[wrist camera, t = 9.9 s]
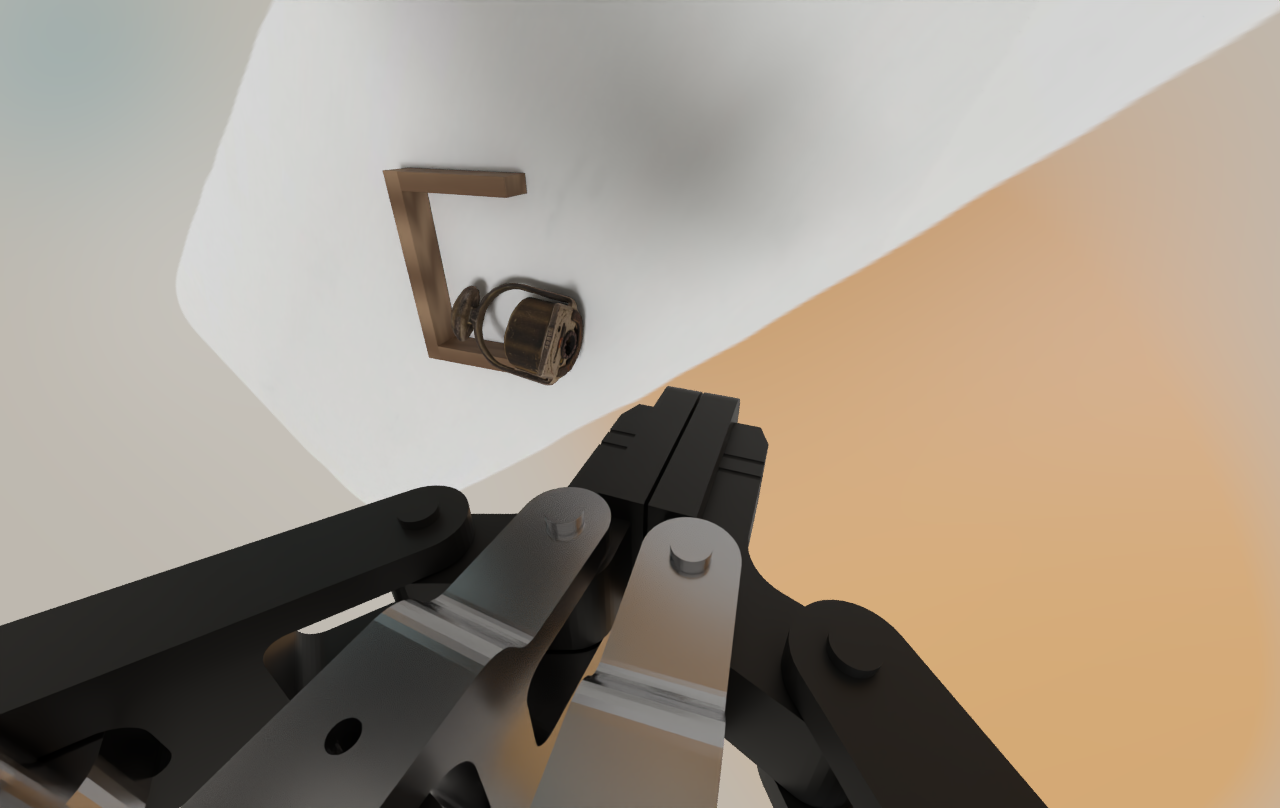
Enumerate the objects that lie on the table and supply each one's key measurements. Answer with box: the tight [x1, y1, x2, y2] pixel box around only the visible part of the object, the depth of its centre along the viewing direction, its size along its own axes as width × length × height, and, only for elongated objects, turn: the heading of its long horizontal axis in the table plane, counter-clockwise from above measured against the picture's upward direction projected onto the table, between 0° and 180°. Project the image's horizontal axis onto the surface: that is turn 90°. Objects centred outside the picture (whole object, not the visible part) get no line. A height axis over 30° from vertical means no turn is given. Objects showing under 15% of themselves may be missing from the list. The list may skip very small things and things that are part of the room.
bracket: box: [383, 168, 527, 372], centre depth 44 cm, size 18×12×3 cm
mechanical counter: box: [451, 283, 583, 385], centre depth 43 cm, size 7×13×10 cm
